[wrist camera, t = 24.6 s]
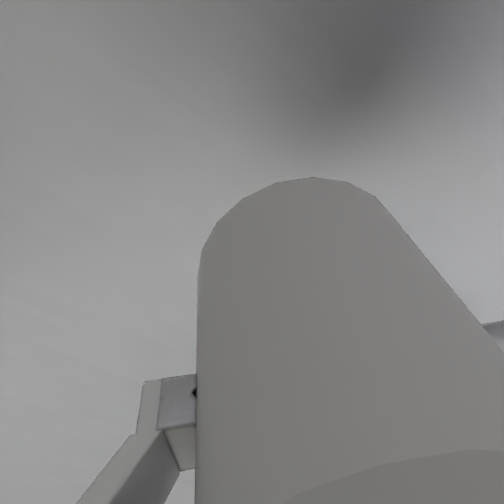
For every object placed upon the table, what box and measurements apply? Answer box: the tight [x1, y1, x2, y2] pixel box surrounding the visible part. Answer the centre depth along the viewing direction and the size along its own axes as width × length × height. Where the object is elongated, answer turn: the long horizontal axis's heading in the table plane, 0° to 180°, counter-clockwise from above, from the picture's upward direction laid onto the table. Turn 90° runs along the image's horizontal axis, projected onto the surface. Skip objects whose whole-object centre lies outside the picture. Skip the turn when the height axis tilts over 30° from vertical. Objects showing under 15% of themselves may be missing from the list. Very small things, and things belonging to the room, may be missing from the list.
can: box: [195, 177, 504, 504], centre depth 11 cm, size 8×8×12 cm
